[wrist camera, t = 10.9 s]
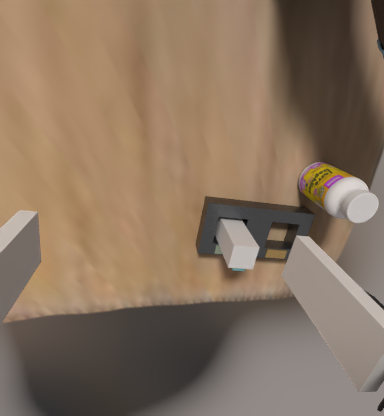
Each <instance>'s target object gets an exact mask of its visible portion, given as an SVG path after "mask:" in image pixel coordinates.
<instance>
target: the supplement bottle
mask: <svg viewBox="0 0 384 416" xmlns="http://www.w3.org/2000/svg"><path fill="white" fill-rule="evenodd" d="M298 184H299V189H300V191H301V192H302V193H303V194H304V195H305V196H306V197H308V198H309V199H310V200H312V201H313V202H314V203H315V204H317V205H318V206H319V207H321V208H322V209H323V210H325V211H326V212H327V213H329V214H330V215H332V216H333V217H336V218H340V219H345V218H346V219H348V220H350V221H351V222H354V223H362V222H365V221H367V220H369V219H370V218H371V217H372V216H373V215H374V214H375V213H376V211H377V209H378V205H379V201H378V198H377V197H376V195H374V194H372V193H371V192H369V189H368V187H367V185H366V184H365V182H363V181H362V180H360V179H359V178H356V177H354V176H352V175H350V174H348V173H346V172H344V171H342V170H340V169H338V168H336V167H333V166H331V165H329V164H327V163H324V162H316V163H313V164H311V165H309V166H307V167H306V168H305V169H304V170H303V172H302V173H301V175H300V177H299V182H298Z"/></svg>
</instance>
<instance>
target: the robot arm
mask: <svg viewBox="0 0 384 416" xmlns="http://www.w3.org/2000/svg"><path fill="white" fill-rule="evenodd" d="M371 3H372V8H373V14H374V19H375V24H376V29H377V34H378V40H377V44H378V48H379V50H380V51H381V53H382V54H383V58H384V0H371ZM40 262H41V251H40V235H39V220H38V212H34V211H23V210H19V211H18V212H17V213H16V214H15V215H14V216H13V217H12V218H11V219H10V220H9V221H8V222H7V223H5V224H4V225H3V226H2V227H1V228H0V325H1V323H2V322H3V320H4V319H5V317H6V315H7V314H8V312H9V311H10V309H11V308H12V306H13V305H14V303H15V301H16V300H17V298H18V297H19V295H20V294H21V292H22V291H23V289H24V287H25V286H26V284H27V283H28V281H29V280H30V278H31V276H32V275H33V273H34V272H35V270H36V269H37V267H38V266H39V264H40ZM282 277H283V279H284V280H285V282H286V283H287V285H288V286H289V288H290V289H291V291H292V292H293V294H294V295H295V297H296V298H297V300H298V301H299V303H300V304H301V306H302V307H303V309H304V310H305V312H306V313H307V315H308V316H309V318H310V319H311V321H312V322H313V324H314V325H315V327H316V328H317V330H318V331H319V333H320V334H321V336H322V337H323V339H324V340H325V342H326V344H327V345H328V346H329V348H330V349H331V351H332V353H333V354H334V355H335V357H336V359H337V360H338V361H339V363H340V365H341V366H342V368H343V369H344V371H345V372H346V373H347V375H348V377H349V378H350V380H351V381H352V383H353V384H354V386H355V387H356V389H357V390H358V392H373V391H377V390H378V388H379V387H380V385H381V384H382V382H383V381H384V306H383V305H382V304H381V303H380V302H379V301H378V300H377V299H376V298H375V297H374V296H372V295H371V294H369V293H368V292H366V291H365V290H363V289H362V288H361V287H360V286H359V285H358V284H357V283H356V282H354V281H353V279H352V278H351V277H349V276H348V275H347V274H346V273H345V272H344V271H343V270H342V269H341V268H340V267H339V266H338V265H337V264H336V263H335V262H334V261H333V260H332V259H331V258H330V257H329V256H328V255H327V254H326V253H325V252H324V251H323V250H322V249H321V248H320V247H319V246H318V245H317V244H316V243H315V242H314V241H313V240H312V239H311V238H310V237H308V236H297V235H296V238H295V241H294V243H293V246H292V249H291V252H290V254H289V257H288V260H287V262H286V265H285V268H284V270H283V273H282ZM383 408H384V399H383V400H382V402H381V403H380V404H379V406H378V409H377V410H379V411H382V410H383Z"/></svg>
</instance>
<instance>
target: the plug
mask: <svg viewBox="0 0 384 416" xmlns="http://www.w3.org/2000/svg"><path fill="white" fill-rule="evenodd" d="M215 236H216V239H217V241H218V244H219V246H220V249H221V251H222V254H223V256H224V259H225V261H226V264H227V266H228V268H232V270H235V271H245V269H253V267H254V264H255V260H256V257H257V254H258V251H259V248H260V247H259V246H258V244H257V243H256V241H255V240H254V238H253V237H252V235H251V234H250V232H249V230H248V229H247V227H246V226H245V224H244V223H243V221H242V220H241V219H238V218H228V217H219V218H218V223H217V227H216V231H215Z"/></svg>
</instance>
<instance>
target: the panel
mask: <svg viewBox="0 0 384 416" xmlns="http://www.w3.org/2000/svg"><path fill="white" fill-rule="evenodd" d="M219 217H228V218H238V219H241V220H242V221H243V223H244V224H245V226H246V227H247V229H248V230H249V232H250V234H251V235H252V237H253V238H254V240H255V241H256V243H257V244H258V246H259V247H260V248H259V251H258V254H257V257H258V258H272V259H286V260H288V257H289V254H290V252H291V249H292V246H293V243H294V241H295V238H296V235H297V236H307V235H308V232H309V230H310V227H311V224H312V222H313V219H314V217H315V214H314V213H313V212H311V211H310V210H309V209H308V208H304V207H296V206H287V205H278V204H269V203H260V202H251V201H243V200H234V199H225V198H216V197H207V196H205V201H204V206H203V211H202V216H201V221H200V226H199V231H198V236H197V240H196V247H197V251H198V253H203V254H217V255H223V254H222V251H221V249H220V246H219V244H218V241H217V239H216V236H215V231H216V227H217V223H218V218H219ZM272 222H278V223H288V224H290V225H289V228H288V230H287V233H286V236H285V239H284V241H274V240H267V237H268V234H269V231H270V228H271V225H272Z"/></svg>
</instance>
